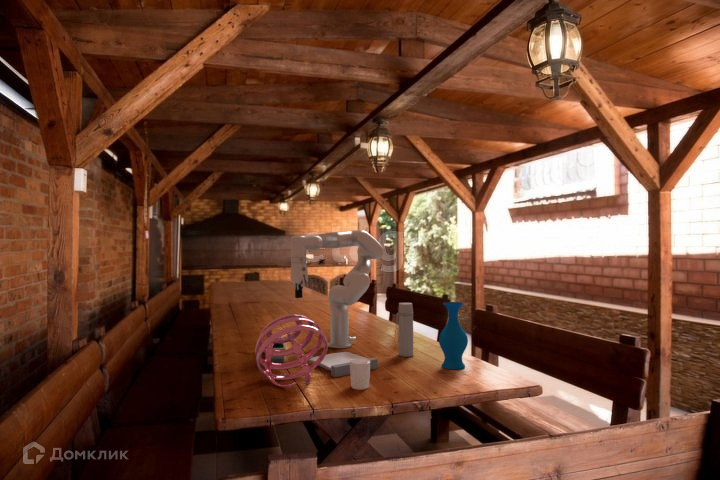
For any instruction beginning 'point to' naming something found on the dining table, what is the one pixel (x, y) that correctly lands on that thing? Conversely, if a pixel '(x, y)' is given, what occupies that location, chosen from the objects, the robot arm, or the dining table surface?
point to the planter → (278, 347)
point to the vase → (453, 339)
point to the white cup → (360, 373)
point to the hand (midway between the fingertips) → (298, 297)
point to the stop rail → (345, 368)
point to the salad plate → (335, 359)
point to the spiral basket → (295, 348)
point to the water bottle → (405, 329)
